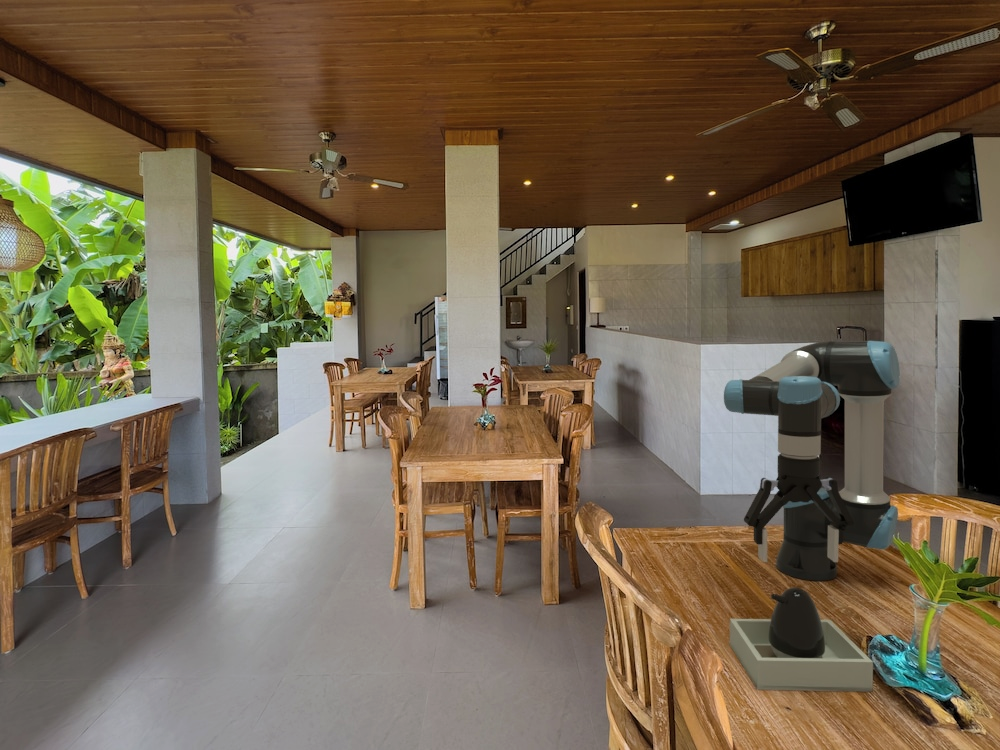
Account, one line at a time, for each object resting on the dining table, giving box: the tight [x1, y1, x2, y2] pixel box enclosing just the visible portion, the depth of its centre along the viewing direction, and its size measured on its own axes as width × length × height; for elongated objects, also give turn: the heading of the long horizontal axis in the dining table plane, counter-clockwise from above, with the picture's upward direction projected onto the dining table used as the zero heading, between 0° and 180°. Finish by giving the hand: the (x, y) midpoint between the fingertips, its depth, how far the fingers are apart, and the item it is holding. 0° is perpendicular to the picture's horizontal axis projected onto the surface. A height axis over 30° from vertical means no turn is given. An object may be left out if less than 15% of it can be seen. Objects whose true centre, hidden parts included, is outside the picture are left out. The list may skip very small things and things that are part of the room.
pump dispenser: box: [768, 586, 825, 658], centre depth 116 cm, size 10×10×15 cm
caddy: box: [729, 618, 874, 693], centre depth 117 cm, size 21×16×6 cm
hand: (797, 559), depth 116 cm, fingers open, 13 cm apart
